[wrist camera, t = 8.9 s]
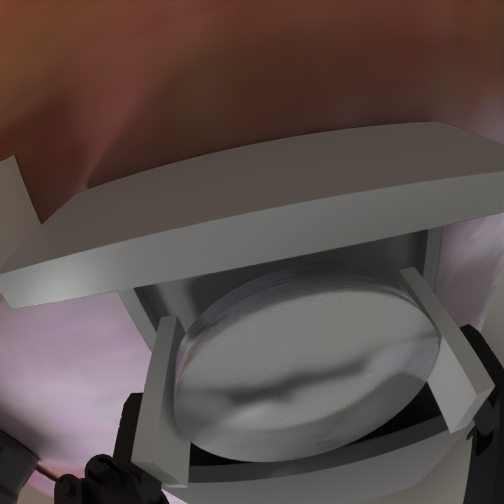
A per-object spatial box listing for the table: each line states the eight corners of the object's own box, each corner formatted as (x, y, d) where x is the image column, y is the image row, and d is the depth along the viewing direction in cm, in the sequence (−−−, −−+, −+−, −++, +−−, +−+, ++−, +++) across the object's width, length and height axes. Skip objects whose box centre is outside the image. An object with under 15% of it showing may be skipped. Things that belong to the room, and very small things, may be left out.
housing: (223, 450, 26) (224, 521, 19) (166, 369, 19) (151, 481, 12) (393, 416, 25) (416, 484, 18) (421, 318, 18) (475, 416, 11)
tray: (176, 385, 19) (166, 473, 14) (76, 193, 12) (-9, 277, 7) (418, 337, 18) (458, 415, 13) (439, 121, 11) (548, 166, 6)
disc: (130, 304, 8) (118, 351, 7) (428, 229, 8) (463, 260, 7) (217, 441, 13) (221, 474, 11) (397, 392, 13) (411, 420, 11)
